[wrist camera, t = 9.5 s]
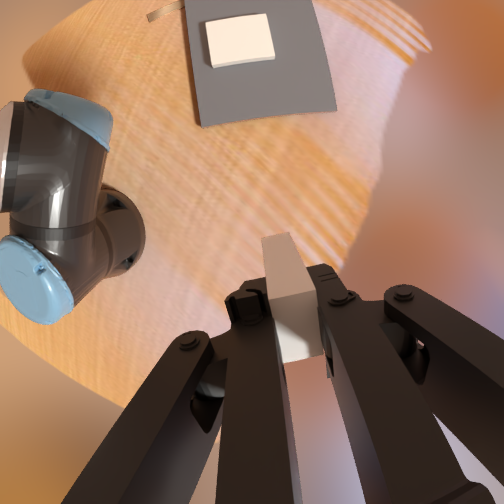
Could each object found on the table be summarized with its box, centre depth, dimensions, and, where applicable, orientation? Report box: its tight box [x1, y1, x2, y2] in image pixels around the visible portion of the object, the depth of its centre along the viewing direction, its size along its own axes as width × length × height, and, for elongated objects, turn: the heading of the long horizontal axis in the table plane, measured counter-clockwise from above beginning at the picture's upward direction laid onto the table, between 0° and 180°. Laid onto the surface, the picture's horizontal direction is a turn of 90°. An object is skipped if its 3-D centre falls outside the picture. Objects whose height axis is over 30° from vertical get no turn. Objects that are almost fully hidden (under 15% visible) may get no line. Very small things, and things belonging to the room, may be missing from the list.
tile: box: [206, 14, 275, 68], centre depth 32 cm, size 2×8×9 cm
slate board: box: [184, 0, 337, 128], centre depth 33 cm, size 20×26×1 cm
